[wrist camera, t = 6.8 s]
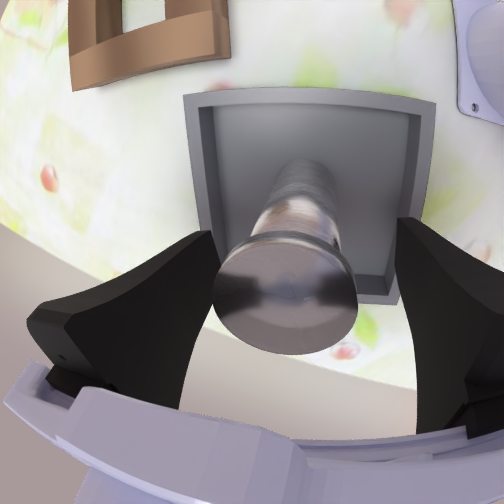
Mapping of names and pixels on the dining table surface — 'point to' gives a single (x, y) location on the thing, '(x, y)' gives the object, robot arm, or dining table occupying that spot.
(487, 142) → the dining table surface
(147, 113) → the dining table surface
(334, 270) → the steel pin
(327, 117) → the tray
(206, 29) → the holder block
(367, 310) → the dining table surface
